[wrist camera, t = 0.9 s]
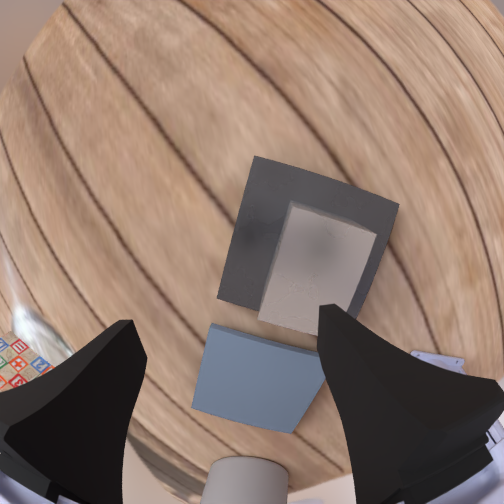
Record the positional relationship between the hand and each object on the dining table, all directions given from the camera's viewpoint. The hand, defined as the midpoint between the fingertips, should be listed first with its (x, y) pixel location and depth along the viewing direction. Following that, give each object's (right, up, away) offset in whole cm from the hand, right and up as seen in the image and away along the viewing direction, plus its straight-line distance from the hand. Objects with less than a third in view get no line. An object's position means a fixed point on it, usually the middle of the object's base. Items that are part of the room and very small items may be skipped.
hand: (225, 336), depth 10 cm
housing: (+5, +3, +11) cm, 13 cm away
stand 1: (+6, +4, +13) cm, 15 cm away
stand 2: (+2, -10, +17) cm, 20 cm away
